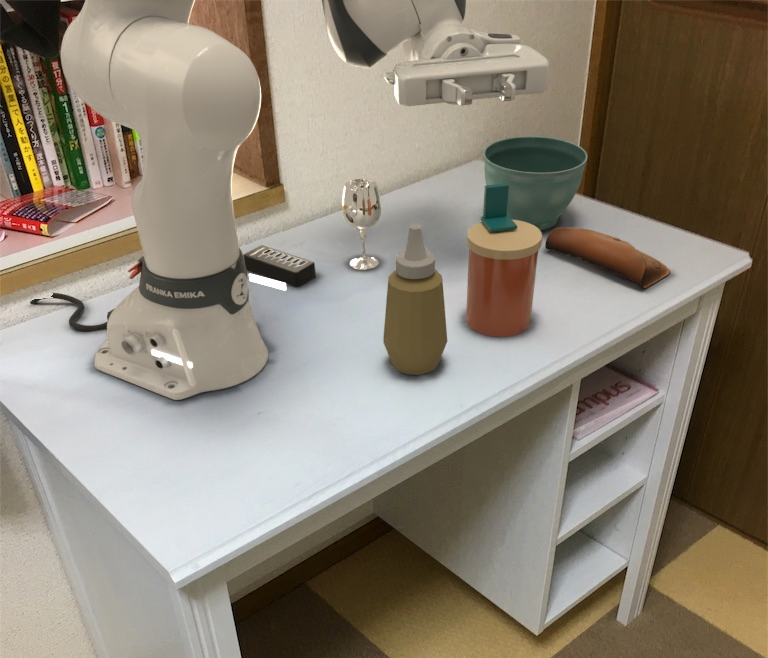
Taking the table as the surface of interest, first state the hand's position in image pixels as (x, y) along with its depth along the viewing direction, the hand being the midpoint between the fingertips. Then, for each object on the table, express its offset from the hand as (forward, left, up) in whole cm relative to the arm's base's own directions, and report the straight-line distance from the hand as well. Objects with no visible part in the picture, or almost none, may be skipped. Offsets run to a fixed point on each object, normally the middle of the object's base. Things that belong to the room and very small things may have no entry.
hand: (488, 96), depth 100 cm
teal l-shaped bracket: (+4, -5, -13) cm, 15 cm away
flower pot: (+1, +26, -26) cm, 37 cm away
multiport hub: (-30, -4, -26) cm, 40 cm away
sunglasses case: (+16, +14, -26) cm, 34 cm away
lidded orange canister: (+5, -7, -26) cm, 28 cm away
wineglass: (-19, +3, -26) cm, 32 cm away
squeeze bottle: (-2, -21, -26) cm, 34 cm away
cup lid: (+5, -7, -15) cm, 18 cm away
